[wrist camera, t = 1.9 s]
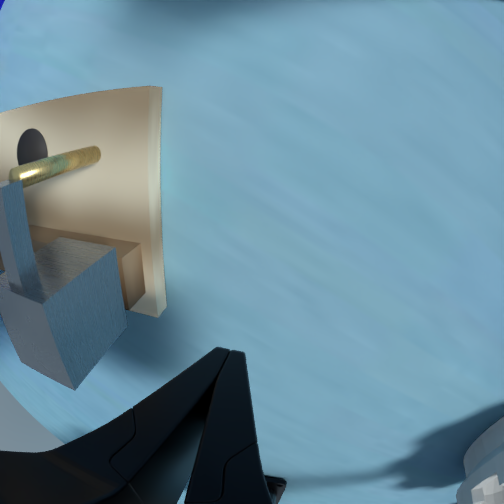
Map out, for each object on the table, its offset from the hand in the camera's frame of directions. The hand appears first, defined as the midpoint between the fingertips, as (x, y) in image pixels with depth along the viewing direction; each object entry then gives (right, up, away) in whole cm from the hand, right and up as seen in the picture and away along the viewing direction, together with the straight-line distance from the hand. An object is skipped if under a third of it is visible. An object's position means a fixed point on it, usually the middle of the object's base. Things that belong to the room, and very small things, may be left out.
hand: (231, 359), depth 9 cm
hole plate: (-14, +7, +6) cm, 16 cm away
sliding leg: (-6, +4, +3) cm, 7 cm away
